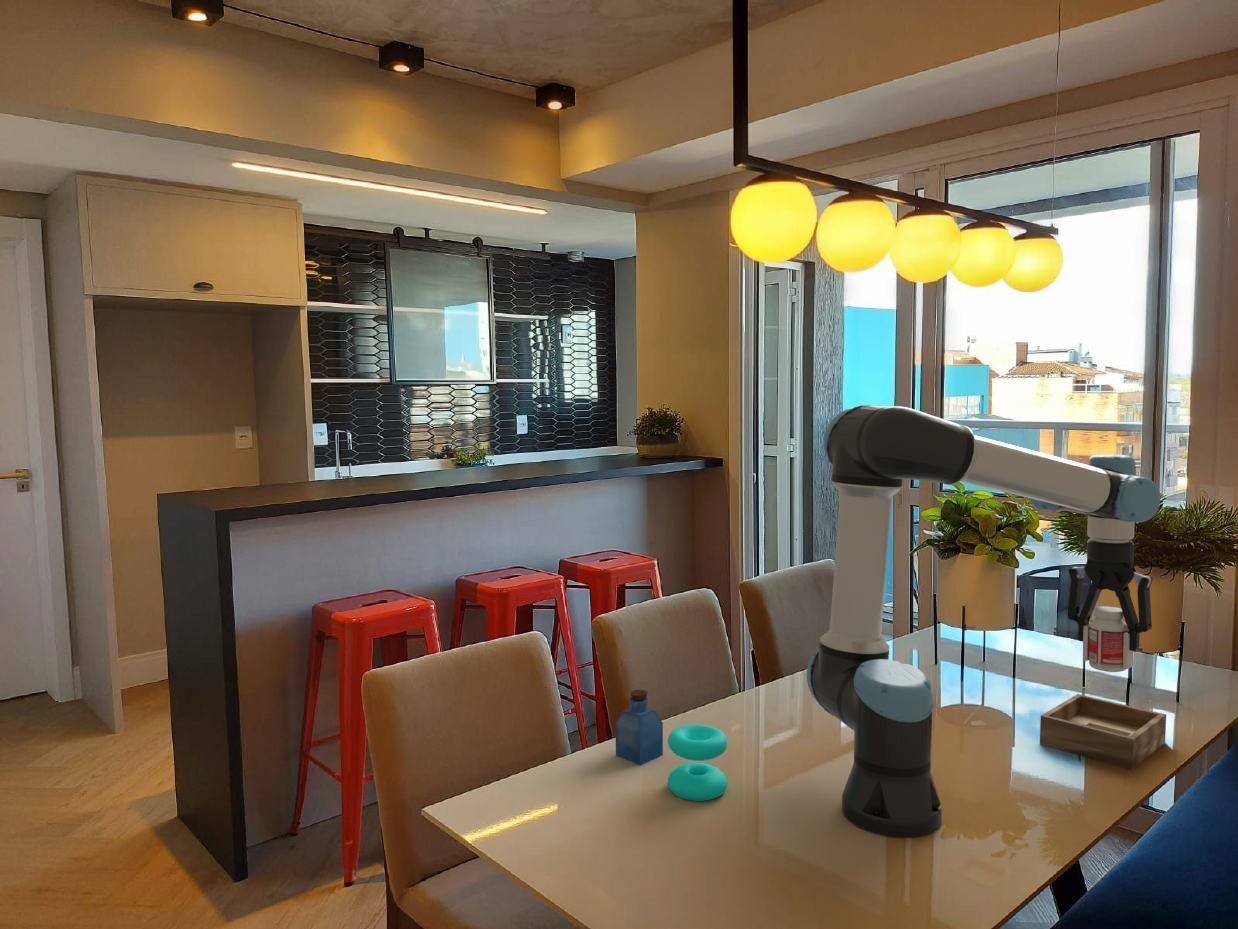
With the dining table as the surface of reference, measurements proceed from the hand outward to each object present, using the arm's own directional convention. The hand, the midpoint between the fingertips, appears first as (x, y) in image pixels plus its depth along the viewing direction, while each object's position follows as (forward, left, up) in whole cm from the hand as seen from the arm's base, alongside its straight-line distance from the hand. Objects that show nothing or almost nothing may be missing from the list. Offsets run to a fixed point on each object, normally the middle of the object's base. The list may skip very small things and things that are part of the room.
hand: (1107, 662), depth 163 cm
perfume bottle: (-85, +14, -17) cm, 88 cm away
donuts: (-78, -2, -17) cm, 80 cm away
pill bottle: (0, 0, -1) cm, 1 cm away
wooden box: (+3, +4, -17) cm, 17 cm away
